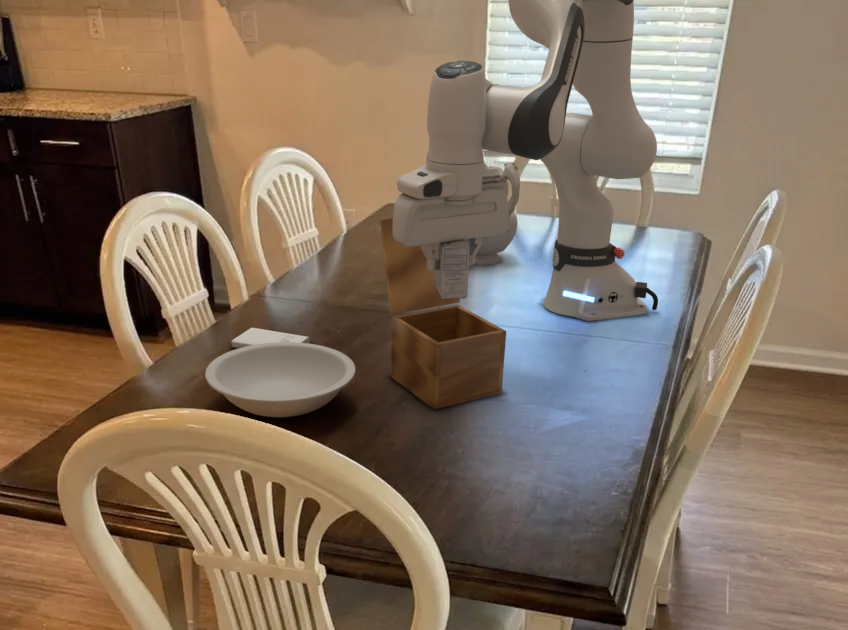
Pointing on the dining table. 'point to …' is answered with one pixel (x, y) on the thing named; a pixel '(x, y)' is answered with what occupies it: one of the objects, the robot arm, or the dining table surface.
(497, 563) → the dining table surface
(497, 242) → the ceramic pitcher
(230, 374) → the soup bowl
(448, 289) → the medicine box
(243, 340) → the hard drive
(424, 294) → the lid
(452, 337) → the chest
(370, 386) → the dining table surface
